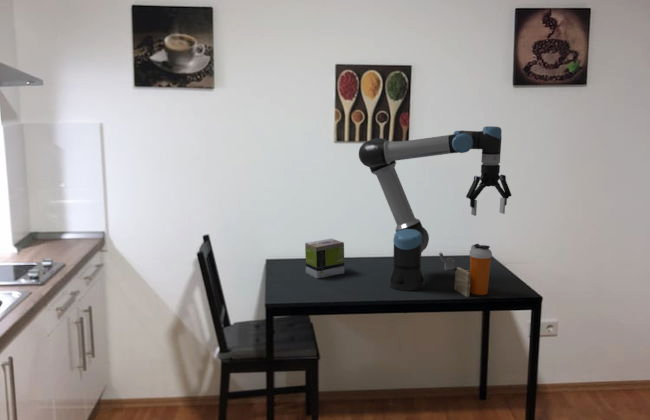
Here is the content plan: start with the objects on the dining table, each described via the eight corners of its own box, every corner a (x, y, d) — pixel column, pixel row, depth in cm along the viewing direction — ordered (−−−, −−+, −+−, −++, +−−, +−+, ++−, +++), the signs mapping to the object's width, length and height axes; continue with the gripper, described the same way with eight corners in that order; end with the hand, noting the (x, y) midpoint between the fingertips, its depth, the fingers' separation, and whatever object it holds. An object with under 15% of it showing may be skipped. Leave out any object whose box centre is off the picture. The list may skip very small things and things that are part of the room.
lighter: (453, 268, 300) (453, 252, 299) (454, 269, 299) (454, 252, 297) (438, 268, 300) (438, 252, 298) (439, 269, 298) (439, 253, 297)
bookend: (466, 296, 260) (468, 273, 258) (454, 289, 270) (455, 266, 268) (497, 293, 265) (498, 270, 263) (483, 286, 274) (485, 263, 272)
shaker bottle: (485, 297, 260) (488, 249, 256) (464, 293, 265) (466, 246, 261) (492, 291, 268) (495, 244, 264) (471, 287, 272) (474, 241, 268)
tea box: (332, 268, 300) (332, 237, 297) (344, 273, 292) (345, 242, 289) (304, 273, 292) (304, 242, 289) (316, 279, 284) (316, 246, 281)
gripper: (468, 166, 260) (466, 217, 264) (521, 164, 268) (518, 214, 272) (459, 164, 267) (457, 214, 271) (511, 161, 275) (508, 210, 279)
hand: (487, 214), depth 271 cm, fingers open, 13 cm apart
